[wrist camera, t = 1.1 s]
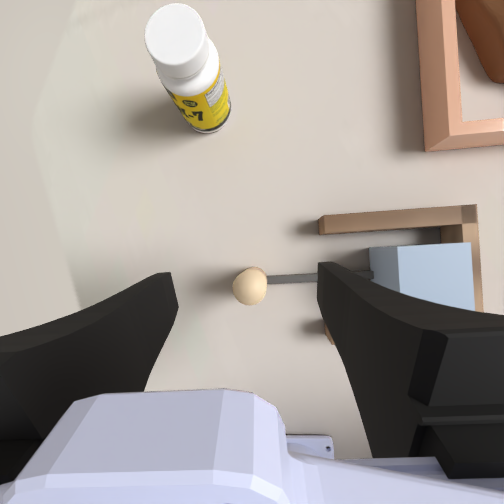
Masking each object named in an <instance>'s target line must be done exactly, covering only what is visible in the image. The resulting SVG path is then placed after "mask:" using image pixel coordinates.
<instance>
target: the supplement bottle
mask: <svg viewBox="0 0 504 504" xmlns="http://www.w3.org/2000/svg"><path fill="white" fill-rule="evenodd" d="M145 44H146V47H147V50H148V52H149V54H150V55H151V57H152V59H153V61H154V63H155V65H156V71H157V74H158V77H159V79H160V81H161V83H162V84H163V86H164V87H165V89H166V90H167V92H168V93H169V95H170V96H171V98H172V99H173V101H174V103H175V104H176V106H177V107H178V109H179V110H180V112H181V113H182V115H183V116H184V118H185V120H186V121H187V123H188V124H189V125H190V126H191V127H192V128H193V129H195V130H197V131H199V132H202V133H213V132H216V131H218V130H220V129H221V128H222V127H223V126H224V125H225V124H226V123H227V121H228V119H229V117H230V114H231V102H230V98H229V94H228V90H227V87H226V83H225V79H224V75H223V72H222V68H221V64H220V60H219V56H218V53H217V51H216V48H215V46H214V44H213V43H212V41H211V40H210V39H209V38H208V36H207V33H206V30H205V27H204V24H203V22H202V19H201V17H200V16H199V15H198V13H197V12H196V11H195V10H194V9H193V8H191V7H189V6H187V5H185V4H180V3H172V4H168V5H165V6H163V7H161V8H159V9H158V10H157V11H156V12H154V13H153V15H152V16H151V17H150V19H149V20H148V22H147V25H146V28H145Z"/></svg>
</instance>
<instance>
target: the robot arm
mask: <svg viewBox="0 0 504 504" xmlns="http://www.w3.org/2000/svg"><path fill="white" fill-rule="evenodd" d="M317 301H318V304H319V308H320V311H321V314H322V317H323V319H324V322H325V324H326V326H327V328H328V330H329V333H330V335H331V337H332V339H333V341H334V343H335V346H336V348H337V350H338V352H339V354H340V356H341V359H342V361H343V364H344V366H345V369H346V372H347V375H348V378H349V381H350V384H351V387H352V390H353V393H354V396H355V399H356V403H357V406H358V409H359V412H360V415H361V419H362V422H363V425H364V429H365V432H366V435H367V439H368V442H369V446H370V449H371V453H372V456H373V458H371V459H334V448H333V441H332V438H331V437H330V436H319V435H286V433H285V425H284V423H283V421H282V419H281V417H280V414H279V412H278V410H277V408H276V407H275V406H273V405H272V404H270V403H269V402H267V401H265V400H264V399H262V398H260V397H259V396H257V395H256V394H254V393H252V392H247V391H241V390H234V389H227V388H222V389H198V390H174V391H151V392H144V389H145V386H146V383H147V381H148V378H149V375H150V373H151V370H152V368H153V366H154V364H155V362H156V359H157V357H158V355H159V353H160V351H161V349H162V347H163V345H164V343H165V341H166V339H167V337H168V335H169V333H170V331H171V328H172V326H173V324H174V321H175V318H176V315H177V311H178V308H179V306H178V302H177V298H176V294H175V289H174V285H173V281H172V277H171V272H165V273H157V274H154V275H152V276H150V277H148V278H146V279H144V280H142V281H140V282H138V283H136V284H134V285H133V286H131V287H129V288H127V289H125V290H123V291H121V292H119V293H117V294H115V295H113V296H111V297H109V298H107V299H105V300H103V301H101V302H99V303H97V304H95V305H93V306H90V307H88V308H86V309H83V310H81V311H78V312H76V313H73V314H71V315H68V316H65V317H63V318H59V319H57V320H54V321H51V322H48V323H45V324H42V325H40V326H36V327H33V328H29V329H26V330H23V331H19V332H15V333H12V334H9V335H4V336H1V337H0V504H504V315H498V314H491V313H484V312H477V311H472V310H467V309H462V308H457V307H451V306H447V305H443V304H438V303H434V302H430V301H427V300H423V299H419V298H416V297H412V296H409V295H406V294H403V293H400V292H397V291H394V290H391V289H389V288H386V287H384V286H381V285H379V284H377V283H374V282H372V281H370V280H368V279H366V278H363V277H361V276H359V275H357V274H355V273H353V272H351V271H350V270H348V269H346V268H344V267H342V266H340V265H338V264H336V263H333V262H319V263H318V281H317ZM327 446H329V448H326V447H327Z"/></svg>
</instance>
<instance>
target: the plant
mask: <svg viewBox="0 0 504 504" xmlns="http://www.w3.org/2000/svg"><path fill="white" fill-rule="evenodd" d="M455 9H456V10H457V12H458V14H459V17H460V19H461V21H462V23H463V26H464V28H465V30H466V32H467V34H468V36H469V38H470V39H471V41H472V43H473V46H474V48H475V50H476V52H477V55H478V57H479V60H480V62H481V64H482V66H483V68H484V70H485V71H486V73H487V75H488V76H489V78H490V79H491V80H492V81H493V82H496V83H504V0H455Z"/></svg>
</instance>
